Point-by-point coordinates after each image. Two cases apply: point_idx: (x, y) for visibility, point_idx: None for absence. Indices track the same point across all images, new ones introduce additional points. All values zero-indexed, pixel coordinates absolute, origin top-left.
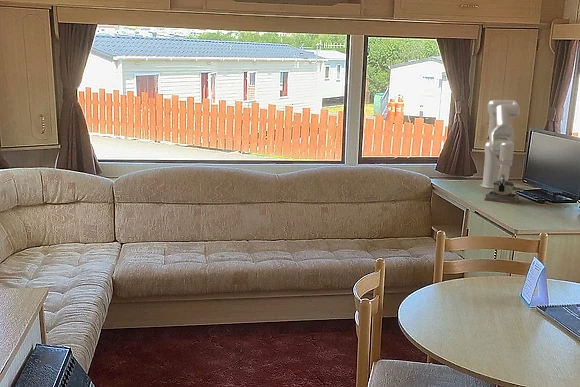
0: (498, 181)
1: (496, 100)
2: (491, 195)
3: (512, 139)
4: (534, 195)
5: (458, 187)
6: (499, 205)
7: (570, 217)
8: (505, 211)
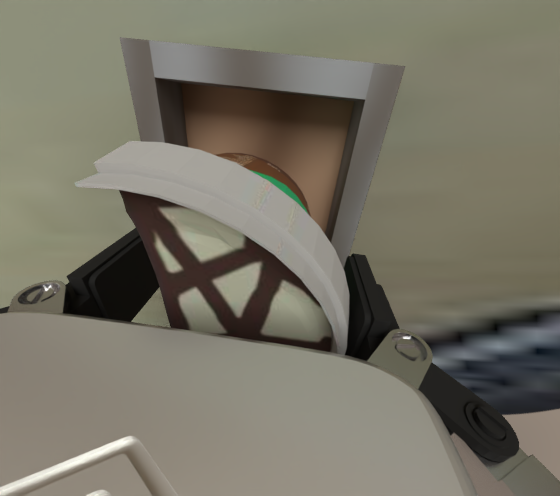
0: (304, 278)
1: None
2: (143, 129)
3: None
4: (503, 382)
5: None
6: (63, 208)
7: None
8: None
